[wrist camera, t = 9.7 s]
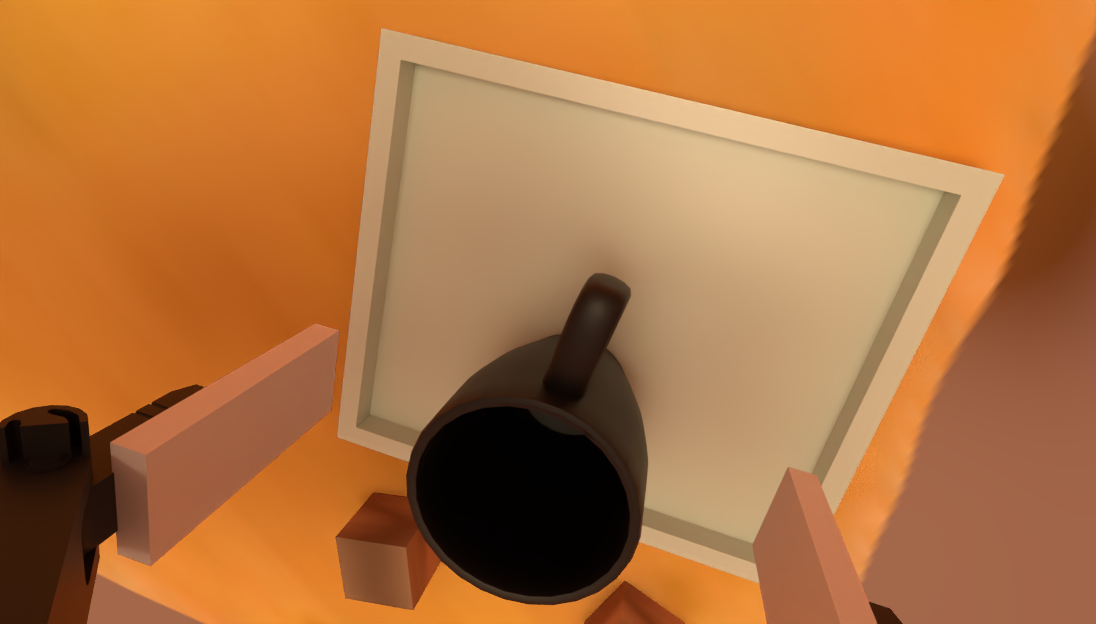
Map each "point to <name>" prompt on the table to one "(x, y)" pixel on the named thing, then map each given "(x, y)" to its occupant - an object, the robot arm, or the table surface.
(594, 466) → the mug
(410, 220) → the tray
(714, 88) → the table surface
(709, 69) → the table surface
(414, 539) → the walnut cube
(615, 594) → the walnut cube
